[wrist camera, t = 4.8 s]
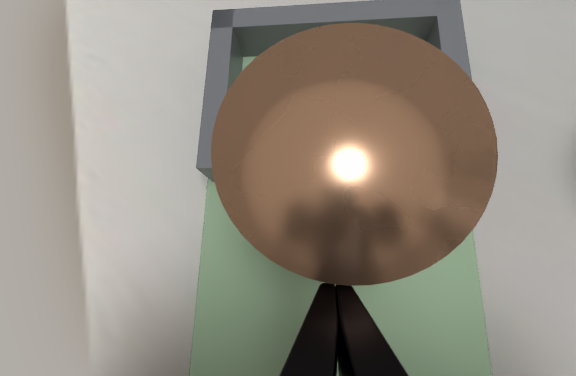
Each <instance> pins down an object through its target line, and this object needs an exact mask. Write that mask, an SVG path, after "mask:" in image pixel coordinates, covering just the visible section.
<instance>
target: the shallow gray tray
mask: <svg viewBox="0 0 576 376" xmlns="http://www.w3.org/2000/svg"><path fill="white" fill-rule="evenodd" d="M340 23H366V24H374V25H381V26H385V27H390V28H394V29H398V30H400V31H403V32H406V33H409V34H412V35H414V36H416V37H418V38H420V39H422V40H424V41H426V42H428V43H430V44H431V45H433V46H435V47H436V48H438V49H439V50H441V51H442V52H444V53H445V54H446V55H447V56H449V57H450V58H451V59H452V60H453V61H455V62H456V63H457V64H458V65H459V66H460V67H461V68H462V69H463V71H464V72H465V73H466V74H467V75H468V76H469V77H470V79H471V80H472V78H471V71H470V64H469V58H468V51H467V44H466V37H465V31H464V24H463V17H462V11H461V4H460V0H374V1H357V2H341V3H325V4H309V5H293V6H276V7H260V8H244V9H228V10H213V14H212V23H211V32H210V42H209V51H208V61H207V70H206V79H205V89H204V98H203V108H202V117H201V127H200V136H199V145H198V155H197V164H196V168H197V169H198V170H199V171H200V172H202V173H203V174H204V175H205V176H206V177H208V178H209V179H210V180H211V181H212V182H214V177H213V173H212V163H211V140H212V134H213V128H214V123H215V120H216V117H217V114H218V111H219V108H220V106H221V104H222V101H223V99H224V97H225V95H226V93H227V92H228V90H229V88H230V87H231V85H232V84H233V82H234V81H235V79H236V78H237V77H238V76H239V75H240V73H241V72H242V64H243V57H253V56H259V55H260V54H261V53H263V52H264V51H265V50H267V49H268V48H269V47H271V46H273V45H274V44H276V43H278V42H279V41H281V40H283V39H285V38H287V37H290V36H292V35H294V34H296V33H299V32H302V31H305V30H308V29H311V28H315V27H320V26H325V25H330V24H340Z"/></svg>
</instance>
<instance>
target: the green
mask: <svg viewBox="0 0 576 376" xmlns="http://www.w3.org/2000/svg"><path fill="white" fill-rule="evenodd" d="M256 57H257V56H253V57H243V64H242V71H243V70H244V69H245V67H246V66H248V65H249V64H250V63H251V62H252V61H253V60H254V59H255V58H256ZM321 283H324V282H321V281H317V280H313V279H309V278H306V277H303V276H301V275H298V274H296V273H293V272H291V271H288V270H287V269H285V268H283V267H281V266H280V265H278V264H276V263H274V262H273V261H271V260H270V259H268V258H267V257H266V256H264V255H263V254H262V253H260V252H259V251H258V250H257V249H255V248H254V247H253V246H252V245H251V244H250V243H249V242H248V241H247V240H246V239H245V238H244V237H243V236H242V234H241V233H240V232H239V230H238V229H237V228H236V226H235V225H234V224H233V222H232V221H231V219H230V218H229V216H228V214H227V212H226V210H225V209H224V207H223V205H222V202H221V200H220V197H219V195H218V192H217V190H216V186H215V182H212V181H211V180H210V179H209V178H208V182H207V193H206V203H205V214H204V225H203V235H202V246H201V256H200V267H199V277H198V288H197V298H196V309H195V319H194V330H193V340H192V351H191V361H190V372H189V376H279V375H280V373H281V370H282V368H283V366H284V364H285V361H286V359H287V357H288V355H289V353H290V350H291V348H292V346H293V344H294V341H295V339H296V337H297V335H298V332H299V330H300V328H301V326H302V323H303V321H304V319H305V317H306V314H307V312H308V310H309V308H310V305H311V303H312V301H313V299H314V296H315V294H316V292H317V290H318V287H319V285H320V284H321ZM335 286H336V284H335ZM352 287H353V288H354V290H355V291H356V293H357V295H358V296H359V298H360V299H361V301H362V303H363V304H364V306H365V307H366V309H367V310H368V312H369V314H370V315H371V317H372V318H373V320H374V321H375V323H376V325H377V326H378V328H379V329H380V331H381V333H382V334H383V336H384V337H385V339H386V340H387V342H388V344H389V345H390V347H391V348H392V350H393V352H394V353H395V355H396V356H397V358H398V359H399V361H400V363H401V364H402V366H403V367H404V369H405V370H406V372H407V374H408V375H409V376H492V371H491V364H490V356H489V349H488V341H487V333H486V326H485V318H484V311H483V303H482V295H481V288H480V280H479V272H478V265H477V257H476V250H475V242H474V234H473V230H472V231H471V232H470V233H469V235H468V236H467V237H466V238H465V239H464V241H463V242H462V243H461V244H460V245H459V246H457V247H456V248H455V249H454V250H453V251H452V252H451V253H450V254H448V255H447V256H446V257H444V258H443V259H441V260H440V261H438V262H437V263H435V264H434V265H432V266H431V267H429V268H427V269H424V270H422V271H420V272H418V273H416V274H414V275H412V276H409V277H405V278H402V279H399V280H395V281H392V282H387V283H381V284H375V285H359V286H352ZM337 376H339V371H338V361H337Z"/></svg>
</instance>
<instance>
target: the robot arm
mask: <svg viewBox="0 0 576 376" xmlns="http://www.w3.org/2000/svg"><path fill="white" fill-rule="evenodd" d="M337 361H338V371H339V376H409V375H408V374H407V372H406V370H405V369H404V367H403V366H402V364H401V363H400V361H399V359H398V358H397V356H396V355H395V353H394V352H393V350H392V348H391V347H390V345H389V344H388V342H387V340H386V339H385V337H384V336H383V334H382V333H381V331H380V329H379V328H378V326H377V325H376V323H375V321H374V320H373V318H372V317H371V315H370V314H369V312H368V310H367V309H366V307H365V306H364V304H363V303H362V301H361V299H360V298H359V296H358V295H357V293H356V291H355V290H354V288H353V287H352V286H347V285H338V284H336V286H335V284H329V283H321V284H320V285H319V287H318V290H317V292H316V294H315V296H314V299H313V301H312V303H311V305H310V308H309V310H308V312H307V314H306V317H305V319H304V321H303V323H302V326H301V328H300V330H299V332H298V335H297V337H296V339H295V341H294V344H293V346H292V348H291V350H290V353H289V355H288V357H287V359H286V361H285V364H284V366H283V368H282V370H281V373H280V375H279V376H337Z"/></svg>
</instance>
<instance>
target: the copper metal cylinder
mask: <svg viewBox="0 0 576 376" xmlns="http://www.w3.org/2000/svg"><path fill="white" fill-rule="evenodd" d="M497 161H498V152H497V138H496V134H495V129H494V125H493V121H492V118H491V115H490V113H489V110H488V107H487V105H486V103H485V101H484V99H483V97H482V95H481V94H480V92H479V90H478V88H477V87H476V86H475V84H474V83H473V81H472V80H471V79H470V77H469V76H468V75H467V74H466V73H465V72H464V71H463V69H462V68H461V67H460V66H459V65H458V64H457V63H456V62H455V61H453V60H452V59H451V58H450V57H449V56H447V55H446V54H445V53H444V52H442V51H441V50H439V49H438V48H436V47H435V46H433V45H431V44H430V43H428V42H426V41H424V40H422V39H420V38H418V37H416V36H414V35H412V34H409V33H406V32H403V31H400V30H398V29H394V28H390V27H385V26H381V25H374V24H366V23H340V24H330V25H325V26H320V27H315V28H311V29H308V30H305V31H302V32H299V33H296V34H294V35H292V36H290V37H287V38H285V39H283V40H281V41H279V42H278V43H276V44H274V45H273V46H271V47H269V48H268V49H267V50H265V51H264V52H263V53H261V54H260V55H259V56H257V57H256V58H255V59H254V60H253V61H252V62H251V63H250V64H249V65H248V66H246V67H245V69H244V70H243V71H242V72H241V73H240V75H239V76H238V77H237V78H236V79H235V81H234V82H233V84H232V85H231V87H230V88H229V90H228V92H227V93H226V95H225V97H224V99H223V101H222V104H221V106H220V108H219V111H218V114H217V117H216V120H215V123H214V128H213V134H212V140H211V163H212V173H213V177H214V182H215V186H216V190H217V192H218V195H219V197H220V200H221V202H222V205H223V207H224V209H225V210H226V212H227V214H228V216H229V218H230V219H231V221H232V222H233V224H234V225H235V226H236V228H237V229H238V230H239V232H240V233H241V234H242V236H243V237H244V238H245V239H246V240H247V241H248V242H249V243H250V244H251V245H252V246H253V247H254V248H255V249H257V250H258V251H259V252H260V253H262V254H263V255H264V256H266V257H267V258H268V259H270V260H271V261H273V262H274V263H276V264H278V265H280V266H281V267H283V268H285V269H287V270H288V271H291V272H293V273H296V274H298V275H301V276H303V277H306V278H309V279H313V280H317V281H321V282H324V283H329V284H338V285H347V286H359V285H375V284H381V283H387V282H392V281H395V280H399V279H402V278H405V277H409V276H412V275H414V274H416V273H418V272H420V271H422V270H424V269H427V268H429V267H431V266H432V265H434V264H435V263H437V262H438V261H440V260H441V259H443V258H444V257H446V256H447V255H448V254H450V253H451V252H452V251H453V250H454V249H455V248H456V247H457V246H459V245H460V244H461V243H462V242H463V241H464V239H465V238H466V237H467V236H468V235H469V233H470V232H471V231H472V230H473V229H474V227H475V226H476V224H477V223H478V221H479V219H480V218H481V216H482V214H483V213H484V211H485V209H486V206H487V204H488V201H489V199H490V197H491V194H492V191H493V187H494V182H495V178H496V172H497Z"/></svg>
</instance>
